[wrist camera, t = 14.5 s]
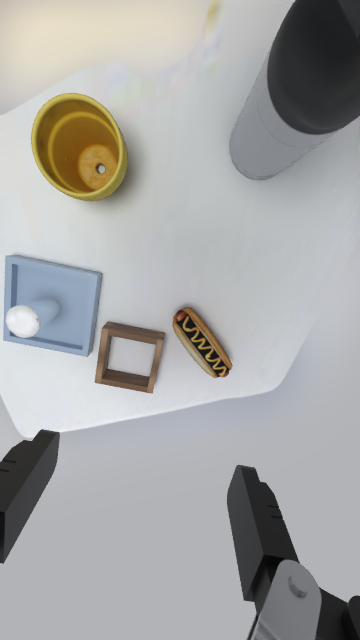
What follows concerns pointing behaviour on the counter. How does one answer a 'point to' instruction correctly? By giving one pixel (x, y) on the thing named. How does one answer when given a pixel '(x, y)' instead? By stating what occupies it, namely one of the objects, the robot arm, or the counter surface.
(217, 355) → the hot dog
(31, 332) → the milkshake
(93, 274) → the tray
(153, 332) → the holder
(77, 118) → the plant pot
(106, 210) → the counter surface
